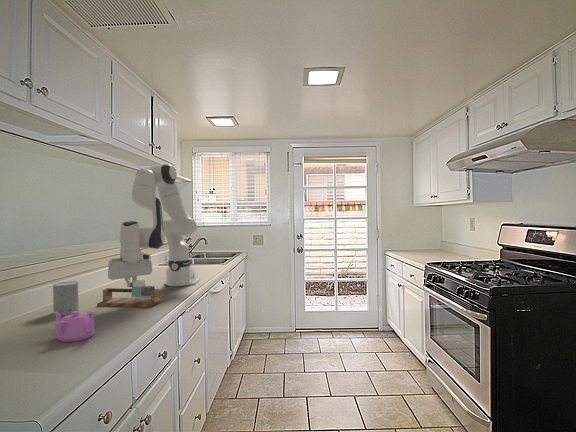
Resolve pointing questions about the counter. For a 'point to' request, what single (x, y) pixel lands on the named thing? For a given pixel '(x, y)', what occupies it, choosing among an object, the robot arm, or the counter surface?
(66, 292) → the grey upright cylinder
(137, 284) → the sleeve
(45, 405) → the counter surface
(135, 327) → the counter surface
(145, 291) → the rail
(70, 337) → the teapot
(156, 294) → the rod slider board
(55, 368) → the counter surface
